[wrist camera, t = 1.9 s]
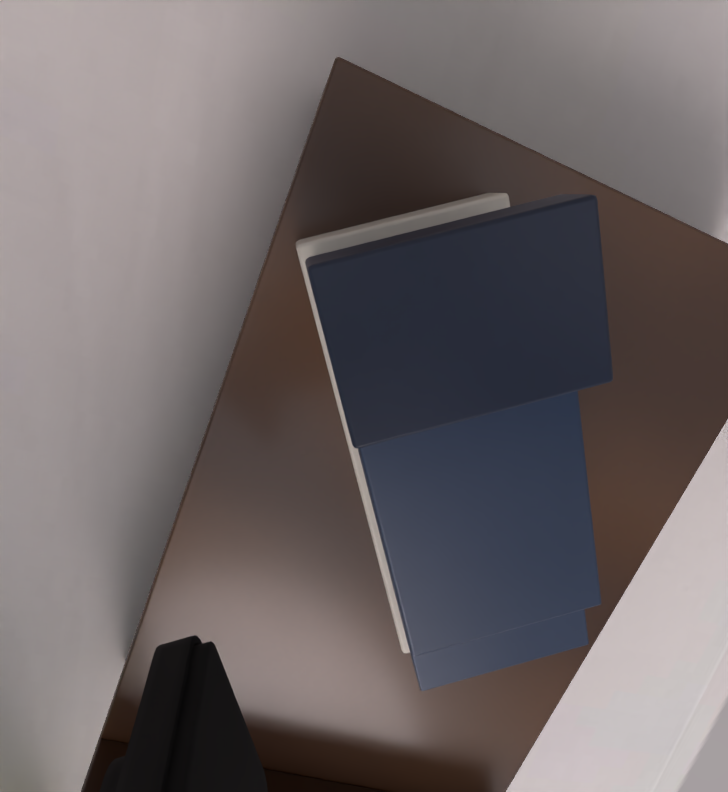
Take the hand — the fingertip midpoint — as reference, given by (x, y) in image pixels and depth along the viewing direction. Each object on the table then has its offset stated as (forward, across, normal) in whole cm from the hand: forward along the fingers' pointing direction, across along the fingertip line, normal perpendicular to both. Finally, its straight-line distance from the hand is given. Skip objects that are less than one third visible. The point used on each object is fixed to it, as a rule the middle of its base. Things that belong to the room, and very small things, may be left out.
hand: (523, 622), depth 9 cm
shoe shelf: (+11, 0, +2) cm, 11 cm away
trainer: (+7, 0, 0) cm, 7 cm away
